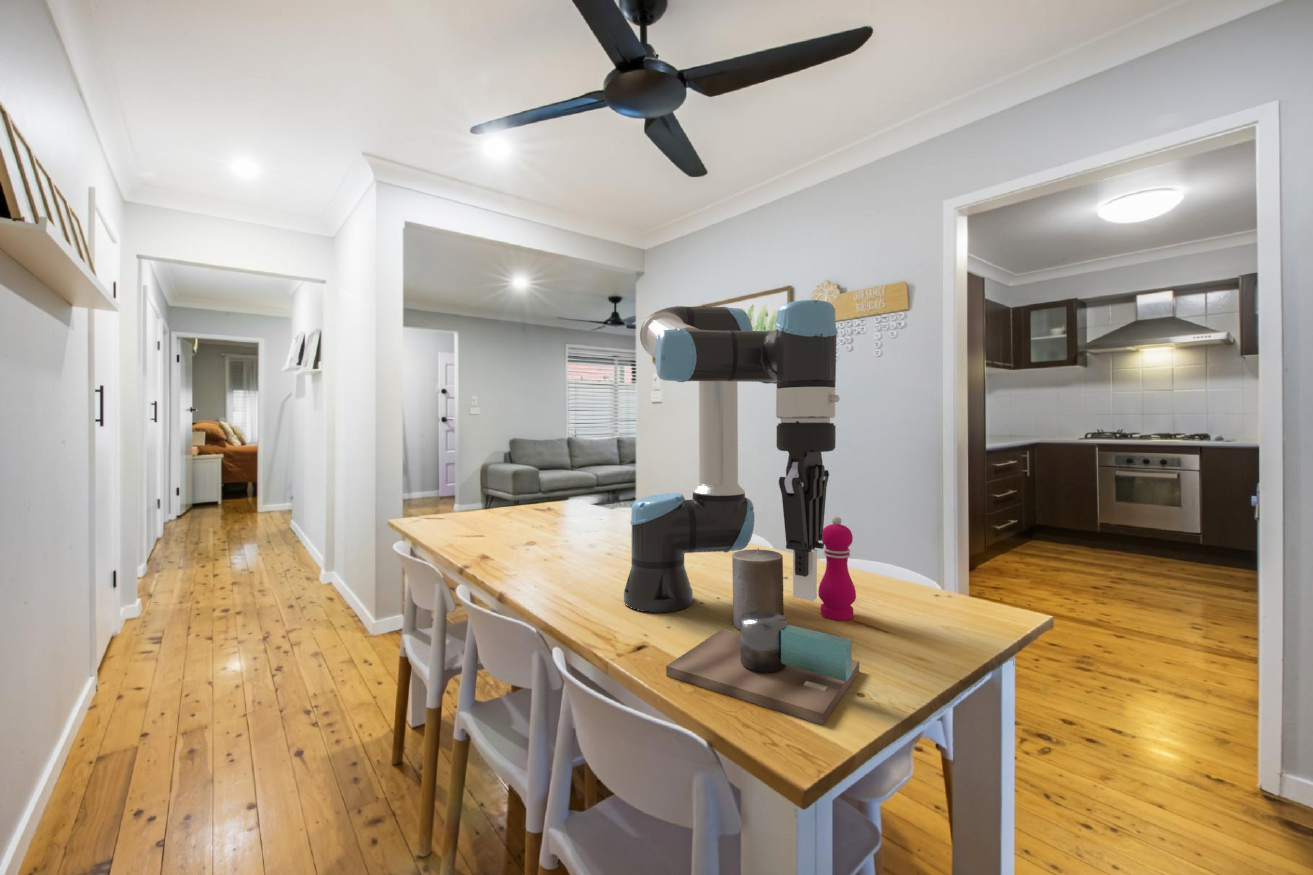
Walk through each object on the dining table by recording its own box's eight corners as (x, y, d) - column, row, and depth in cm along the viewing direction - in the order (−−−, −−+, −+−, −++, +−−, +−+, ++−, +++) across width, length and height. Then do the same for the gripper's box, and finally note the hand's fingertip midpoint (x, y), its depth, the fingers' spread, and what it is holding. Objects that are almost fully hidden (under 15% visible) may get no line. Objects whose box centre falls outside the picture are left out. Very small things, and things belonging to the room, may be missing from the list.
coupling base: (666, 675, 80) (666, 664, 80) (721, 637, 95) (721, 628, 95) (823, 725, 67) (822, 712, 66) (859, 671, 81) (859, 660, 81)
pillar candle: (791, 622, 102) (790, 545, 102) (772, 639, 94) (771, 555, 94) (745, 614, 107) (744, 540, 107) (723, 628, 99) (722, 549, 99)
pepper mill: (849, 624, 101) (849, 521, 100) (813, 616, 105) (812, 517, 105) (860, 614, 107) (860, 515, 106) (825, 607, 111) (825, 512, 111)
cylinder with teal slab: (840, 697, 70) (840, 647, 70) (732, 663, 80) (731, 620, 80) (856, 677, 75) (856, 631, 75) (753, 648, 86) (753, 608, 86)
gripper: (818, 421, 62) (817, 618, 63) (848, 420, 72) (847, 589, 73) (758, 421, 66) (758, 606, 67) (795, 421, 77) (795, 580, 77)
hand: (804, 597), depth 70 cm, fingers closed
